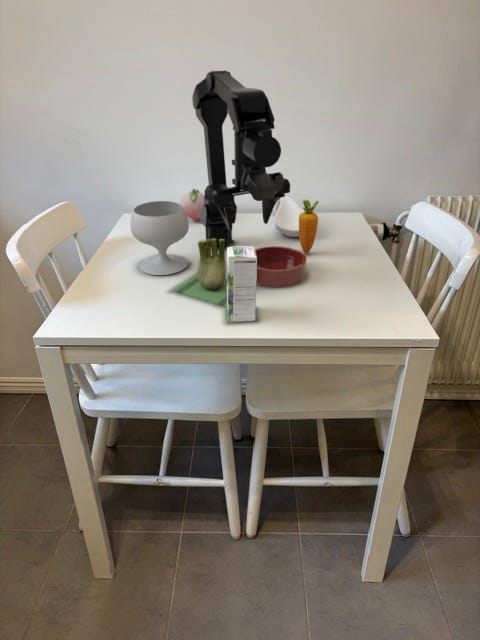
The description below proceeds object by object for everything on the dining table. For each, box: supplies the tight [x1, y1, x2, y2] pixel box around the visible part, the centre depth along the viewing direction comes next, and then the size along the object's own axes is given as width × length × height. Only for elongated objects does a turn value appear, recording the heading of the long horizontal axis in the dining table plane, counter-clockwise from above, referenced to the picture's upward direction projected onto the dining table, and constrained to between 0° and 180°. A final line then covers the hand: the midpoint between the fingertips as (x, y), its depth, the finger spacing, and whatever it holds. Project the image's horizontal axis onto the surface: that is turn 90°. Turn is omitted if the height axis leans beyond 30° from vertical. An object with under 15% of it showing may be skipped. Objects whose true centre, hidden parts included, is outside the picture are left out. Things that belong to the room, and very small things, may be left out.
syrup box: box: [226, 245, 257, 323], centre depth 98 cm, size 6×6×14 cm
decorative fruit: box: [180, 188, 205, 221], centre depth 148 cm, size 9×8×10 cm
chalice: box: [130, 200, 190, 276], centre depth 119 cm, size 14×14×15 cm
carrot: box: [298, 198, 320, 255], centre depth 124 cm, size 5×5×15 cm
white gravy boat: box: [272, 196, 306, 238], centre depth 144 cm, size 24×12×7 cm, turn 10°
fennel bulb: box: [197, 239, 227, 290], centre depth 108 cm, size 6×5×12 cm
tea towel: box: [172, 272, 227, 308], centre depth 112 cm, size 15×11×1 cm
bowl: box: [255, 245, 307, 288], centre depth 117 cm, size 15×15×4 cm
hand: (248, 226), depth 109 cm, fingers open, 9 cm apart
